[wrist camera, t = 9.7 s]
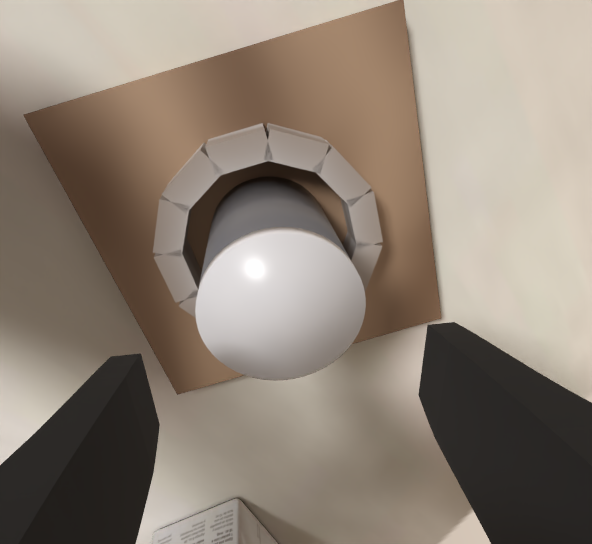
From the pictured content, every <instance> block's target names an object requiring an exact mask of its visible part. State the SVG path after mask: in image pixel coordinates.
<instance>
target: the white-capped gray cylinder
mask: <svg viewBox="0 0 592 544" xmlns="http://www.w3.org/2000/svg"><path fill="white" fill-rule="evenodd" d="M365 308H366V297H365V291H364V286H363V284H362V281H361V278H360V276H359V274H358V272H357V270H356V268H355V267H354V265H353V263H352V261H351V260H350V258H349V256H348V254H347V252H346V251H345V249H344V247H343V245H342V243H341V242H340V240H339V238H338V236H337V235H336V233H335V231H334V229H333V227H332V226H331V224H330V222H329V220H328V219H327V217H326V215H325V213H324V211H323V210H322V208H321V206H320V204H319V203H318V201H317V200H316V198H315V197H314V196H313V195H312V194H311V193H310V192H309V191H308V190H307V189H306V188H304V187H303V186H301V185H300V184H298V183H296V182H294V181H291V180H289V179H285V178H281V177H274V176H265V177H257V178H253V179H250V180H247V181H245V182H243V183H241V184H239V185H237V186H236V187H234V188H233V189H232V190H230V191H229V192H228V193H227V194H226V195H225V196H224V197H223V199H222V200H221V201H220V203H219V204H218V206H217V208H216V210H215V213H214V215H213V219H212V223H211V228H210V233H209V238H208V243H207V248H206V253H205V258H204V264H203V269H202V274H201V279H200V284H199V289H198V294H197V299H196V308H195V314H196V323H197V327H198V331H199V333H200V336H201V338H202V340H203V342H204V343H205V345H206V347H207V348H208V349H209V351H210V352H211V353H212V354H213V355H214V356H215V357H216V358H217V359H218V360H219V361H220V362H221V363H223V364H224V365H226V366H227V367H229V368H230V369H232V370H234V371H236V372H238V373H241V374H243V375H246V376H249V377H253V378H257V379H264V380H288V379H295V378H299V377H303V376H306V375H309V374H312V373H315V372H317V371H319V370H321V369H323V368H325V367H326V366H328V365H329V364H331V363H333V362H334V361H335V360H336V359H338V358H339V357H340V356H341V355H342V354H343V353H344V352H345V351H346V350H347V349H348V348H349V347H350V345H351V344H352V343H353V341H354V340H355V338H356V336H357V335H358V333H359V331H360V328H361V326H362V323H363V320H364V316H365Z"/></svg>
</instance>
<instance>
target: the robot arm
mask: <svg viewBox="0 0 592 544" xmlns="http://www.w3.org/2000/svg"><path fill="white" fill-rule="evenodd" d="M419 397H420V400H421V403H422V406H423V408H424V411H425V414H426V416H427V419H428V422H429V424H430V427H431V429H432V432H433V434H434V437H435V439H436V441H437V443H438V445H439V446H440V448H441V450H442V452H443V454H444V456H445V458H446V460H447V462H448V464H449V465H450V467H451V469H452V471H453V473H454V475H455V477H456V479H457V480H458V482H459V484H460V486H461V488H462V490H463V492H464V493H465V495H466V497H467V499H468V501H469V503H470V505H471V507H472V508H473V510H474V512H475V514H476V516H477V518H478V520H479V521H480V523H481V525H482V527H483V529H484V531H485V532H486V534H487V536H488V538H489V540H490V542H491V544H592V403H591V402H589V401H587V400H585V399H583V398H582V397H580V396H578V395H576V394H574V393H573V392H571V391H569V390H567V389H566V388H564V387H562V386H560V385H559V384H557V383H555V382H553V381H552V380H550V379H548V378H547V377H545V376H543V375H541V374H540V373H538V372H536V371H535V370H533V369H531V368H530V367H528V366H526V365H525V364H523V363H522V362H520V361H518V360H517V359H515V358H513V357H512V356H510V355H508V354H507V353H505V352H504V351H502V350H500V349H499V348H497V347H496V346H494V345H492V344H491V343H489V342H487V341H486V340H484V339H483V338H481V337H479V336H478V335H476V334H474V333H473V332H471V331H469V330H467V329H466V328H464V327H462V326H460V325H459V324H457V323H455V322H452V323H442V324H432V325H428V327H427V335H426V342H425V350H424V358H423V365H422V373H421V381H420V388H419ZM158 434H159V421H158V417H157V413H156V409H155V406H154V402H153V398H152V394H151V390H150V387H149V383H148V379H147V375H146V371H145V367H144V364H143V360H142V356H141V354H133V355H123V356H113V357H110V358H109V359H108V360H107V361H106V362H105V363H104V364H103V365H102V366H101V367H100V368H99V369H98V370H97V371H96V372H95V373H94V374H93V375H92V376H91V377H90V378H89V379H88V380H87V381H86V382H85V383H84V384H83V385H82V386H81V387H80V388H79V389H78V390H77V391H76V392H75V393H74V394H73V396H72V397H71V398H70V399H69V400H68V401H67V402H66V403H65V404H64V405H63V406H62V407H61V408H60V409H59V410H58V411H57V412H56V413H55V414H54V415H53V416H52V417H51V418H50V419H49V420H48V421H47V422H46V423H45V424H44V425H43V426H42V427H41V428H40V429H39V430H38V431H37V432H36V433H35V434H34V435H32V436H31V437H30V438H29V439H28V440H27V441H26V442H25V443H24V444H23V445H22V446H21V447H20V448H18V449H17V450H16V451H15V452H14V453H13V454H12V455H11V456H10V457H9V458H8V459H7V460H6V461H4V462H3V463H2V464H1V465H0V544H135V543H136V540H137V536H138V532H139V528H140V524H141V520H142V516H143V512H144V508H145V504H146V500H147V496H148V492H149V488H150V484H151V480H152V476H153V472H154V464H155V457H156V450H157V442H158Z"/></svg>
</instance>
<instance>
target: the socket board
mask: <svg viewBox="0 0 592 544" xmlns="http://www.w3.org/2000/svg"><path fill="white" fill-rule="evenodd" d="M24 117H25V119H26V121H27V123H28V124H29V126H30V128H31V130H32V132H33V134H34V135H35V137H36V139H37V141H38V143H39V144H40V146H41V148H42V150H43V152H44V153H45V155H46V157H47V159H48V161H49V163H50V164H51V166H52V168H53V170H54V172H55V173H56V175H57V177H58V179H59V181H60V182H61V184H62V186H63V188H64V190H65V192H66V193H67V195H68V197H69V199H70V201H71V202H72V204H73V206H74V208H75V210H76V212H77V213H78V215H79V217H80V219H81V221H82V222H83V224H84V226H85V228H86V230H87V231H88V233H89V235H90V237H91V239H92V241H93V242H94V244H95V246H96V248H97V250H98V251H99V253H100V255H101V257H102V259H103V260H104V262H105V264H106V266H107V268H108V270H109V271H110V273H111V275H112V277H113V279H114V280H115V282H116V284H117V286H118V288H119V290H120V291H121V293H122V295H123V297H124V299H125V300H126V302H127V304H128V306H129V308H130V309H131V311H132V313H133V315H134V317H135V319H136V320H137V322H138V324H139V326H140V328H141V329H142V331H143V333H144V335H145V337H146V338H147V340H148V342H149V344H150V346H151V348H152V349H153V351H154V353H155V355H156V357H157V358H158V360H159V362H160V364H161V366H162V368H163V369H164V371H165V373H166V375H167V377H168V378H169V380H170V382H171V384H172V386H173V387H174V389H175V391H176V393H177V395H178V394H181V393H185V392H188V391H191V390H195V389H198V388H202V387H205V386H209V385H212V384H216V383H219V382H223V381H226V380H229V379H233V378H236V377H240V376H243V374H241V373H238V372H236V371H234V370H232V369H230V368H229V367H227V366H226V365H224V364H223V363H221V362H220V361H219V360H218V359H217V358H216V357H215V356H214V355H213V354H212V353H211V352H210V351H209V349H208V348H207V347H206V345H205V343H204V342H203V340H202V338H201V336H200V333H199V331H198V327H197V323H196V314H195V308H196V299H197V294H198V289H199V284H200V279H201V274H202V269H203V264H204V258H205V253H206V248H207V243H208V238H209V233H210V228H211V223H212V219H213V215H214V213H215V210H216V208H217V206H218V204H219V203H220V201H221V200H222V199H223V197H224V196H225V195H226V194H227V193H228V192H229V191H230V190H232V189H233V188H234V187H236V186H237V185H239V184H241V183H243V182H245V181H247V180H250V179H253V178H257V177H265V176H274V177H281V178H285V179H289V180H291V181H294V182H296V183H298V184H300V185H301V186H303V187H304V188H306V189H307V190H308V191H309V192H310V193H311V194H312V195H313V196H314V197H315V198H316V200H317V201H318V203H319V204H320V206H321V208H322V210H323V211H324V213H325V215H326V217H327V219H328V220H329V222H330V224H331V226H332V227H333V229H334V231H335V233H336V235H337V236H338V238H339V240H340V242H341V243H342V245H343V247H344V249H345V251H346V252H347V254H348V256H349V258H350V260H351V261H352V263H353V265H354V267H355V268H356V270H357V272H358V274H359V276H360V278H361V281H362V284H363V286H364V291H365V297H366V308H365V316H364V320H363V323H362V326H361V328H360V331H359V333H358V335H357V336H356V338H355V340H354V341H353V343H352V344H354V343H357V342H361V341H364V340H368V339H371V338H374V337H378V336H381V335H385V334H388V333H392V332H395V331H399V330H402V329H406V328H409V327H412V326H416V325H419V324H423V323H426V322H430V321H433V320H437V319H440V318H441V311H440V303H439V295H438V286H437V278H436V269H435V261H434V253H433V244H432V236H431V228H430V219H429V211H428V202H427V194H426V186H425V177H424V169H423V160H422V152H421V144H420V135H419V127H418V118H417V110H416V102H415V93H414V85H413V77H412V68H411V60H410V51H409V43H408V35H407V26H406V18H405V9H404V1H403V0H398V1H395V2H391V3H388V4H385V5H382V6H378V7H375V8H372V9H368V10H365V11H362V12H359V13H355V14H352V15H349V16H345V17H342V18H339V19H336V20H332V21H329V22H326V23H323V24H319V25H316V26H313V27H309V28H306V29H303V30H300V31H296V32H293V33H290V34H287V35H283V36H280V37H277V38H273V39H270V40H267V41H264V42H260V43H257V44H254V45H250V46H247V47H244V48H241V49H237V50H234V51H231V52H228V53H224V54H221V55H218V56H214V57H211V58H208V59H205V60H201V61H198V62H195V63H191V64H188V65H185V66H182V67H178V68H175V69H172V70H169V71H165V72H162V73H159V74H155V75H152V76H149V77H146V78H142V79H139V80H136V81H133V82H129V83H126V84H123V85H119V86H116V87H113V88H110V89H106V90H103V91H100V92H96V93H93V94H90V95H87V96H83V97H80V98H77V99H74V100H70V101H67V102H64V103H60V104H57V105H54V106H51V107H47V108H44V109H41V110H38V111H34V112H31V113H28V114H24Z"/></svg>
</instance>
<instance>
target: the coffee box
mask: <svg viewBox="0 0 592 544" xmlns="http://www.w3.org/2000/svg"><path fill="white" fill-rule="evenodd" d="M151 544H278V543H277V542H276V541H275V540H274V538H273V537H272V536H271V535H270V534H269V533H268V531H267V530H266V529H265V528H264V527H263V525H262V524H261V523H260V522H259V521H258V520H257V519H256V517H255V516H254V515H253V514H252V513H251V512H250V511H249V509H248V508H247V507H246V506H245V505H244V504H243V502H242V501H241V500H240V499H233V500H230V501H228V502H225V503H223V504H220V505H218V506H216V507H213V508H211V509H208V510H206V511H203V512H201V513H199V514H196V515H194V516H191V517H189V518H186V519H184V520H182V521H179V522H177V523H174V524H172V525H169V526H167V527H164V528H162V529H159V530H157V531H156V532H155V533H154V534H153V537H152V543H151Z"/></svg>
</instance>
